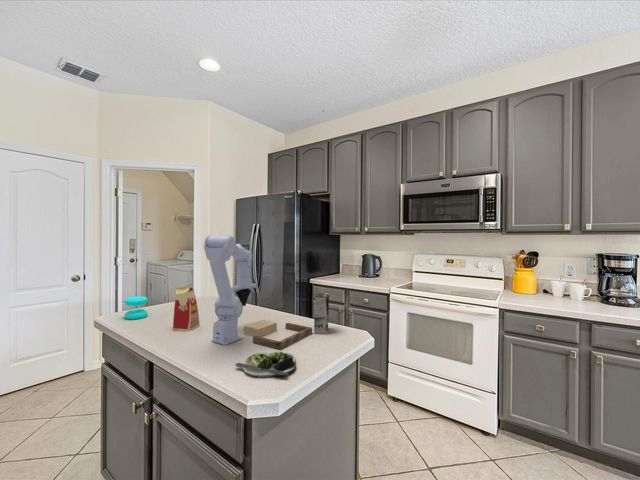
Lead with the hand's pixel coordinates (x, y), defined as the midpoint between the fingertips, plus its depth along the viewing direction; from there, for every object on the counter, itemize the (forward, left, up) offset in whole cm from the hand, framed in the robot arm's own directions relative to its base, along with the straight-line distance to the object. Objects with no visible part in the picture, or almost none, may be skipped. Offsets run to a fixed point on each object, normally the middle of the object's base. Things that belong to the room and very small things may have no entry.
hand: (243, 305), depth 137 cm
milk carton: (-14, +22, -11) cm, 28 cm away
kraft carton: (0, -11, -11) cm, 15 cm away
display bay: (0, -23, -10) cm, 25 cm away
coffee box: (+17, -32, -11) cm, 38 cm away
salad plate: (-24, -37, -11) cm, 46 cm away
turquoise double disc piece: (-17, +57, -11) cm, 60 cm away
